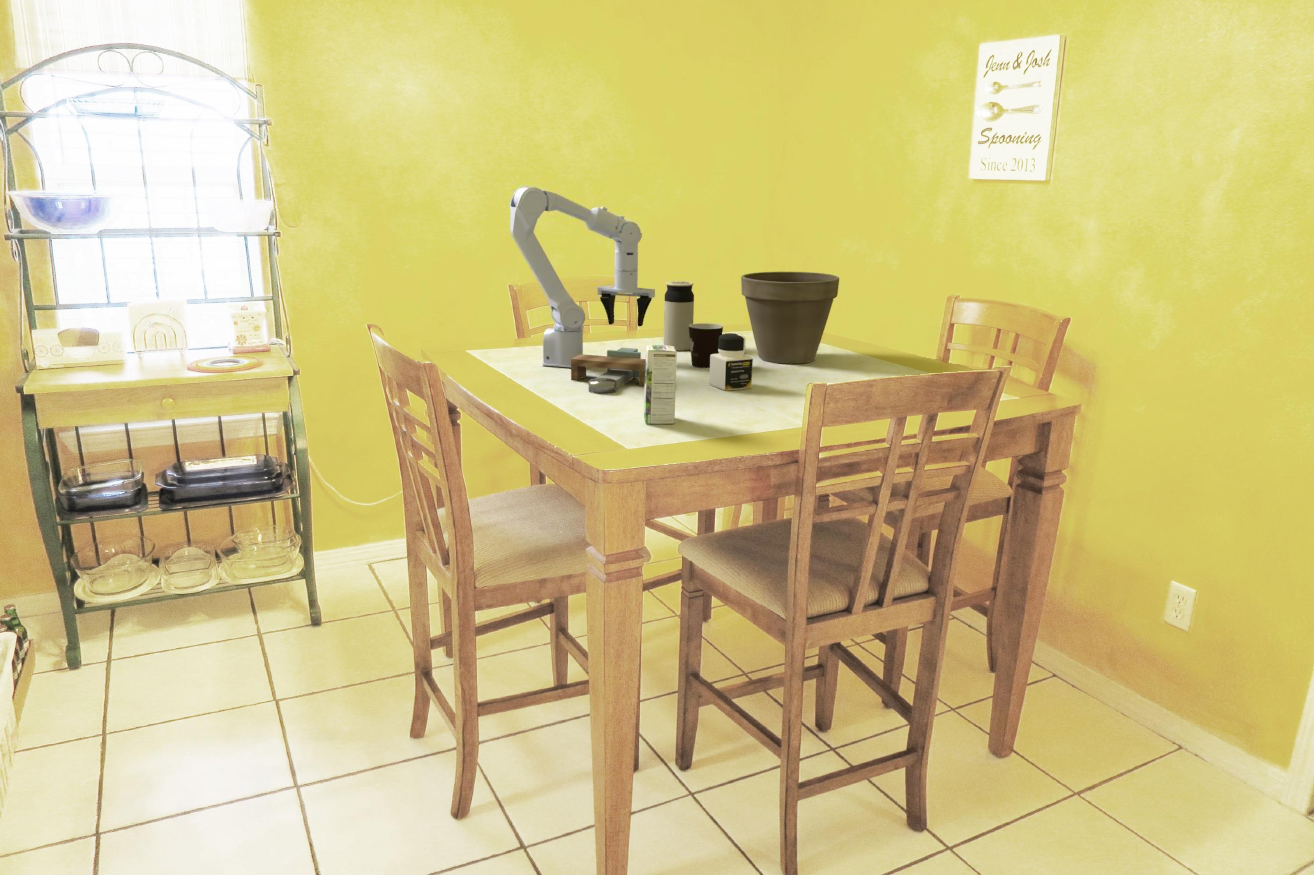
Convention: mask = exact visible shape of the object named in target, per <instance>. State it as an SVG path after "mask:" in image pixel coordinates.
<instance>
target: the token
mask: <svg viewBox="0 0 1314 875" xmlns="http://www.w3.org/2000/svg"><path fill="white" fill-rule="evenodd" d="M588 392H589V393H590V394H595V395H608V394H609V395H610V394H614V393H616V392H617V389H616V380H614V379H609V378H597V377H595V378H591V379H588Z"/></svg>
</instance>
